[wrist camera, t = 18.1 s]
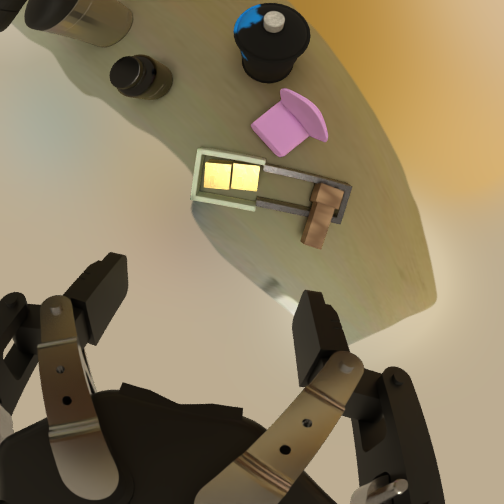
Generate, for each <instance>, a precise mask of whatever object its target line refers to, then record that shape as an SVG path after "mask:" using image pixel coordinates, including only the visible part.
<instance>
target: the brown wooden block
mask: <svg viewBox="0 0 504 504" xmlns="http://www.w3.org/2000/svg"><path fill="white" fill-rule="evenodd" d="M343 194H344V191H341V190H339V189H336V188H333V187H331V186H328V185H326V184H323V183H318V184H315V186H314V189H313V192H312V195H311V198H310V201H312V202H313V204H312V207H311V210H310V213H309V216H308V219H307V222H306V225H305V228H304V231H303V234H302V237H301V240H300V241H301V242H302V243H303V244H305V245H308V246H312V247H315V248H318V249H321V248H322V246H323V243H324V240H325V237H326V234H327V231H328V228H329V225H330V222H331V219H332V216H333V213H334V209H339V207H340V204H341V200H342V197H343Z"/></svg>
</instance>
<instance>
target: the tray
mask: <svg viewBox="0 0 504 504" xmlns="http://www.w3.org/2000/svg"><path fill="white" fill-rule="evenodd" d="M205 155H210V156H216V157H222V158H228V159H233V160H239V161H244V162H250V163H255V164H260V165H264V166H265V162H266V159H265V158H262V157H257V156H252V155H247V154H242V153H236V152H231V151H225V150H219V149H212V148H206V147H200V148H198V149H197V155H196V162H195V168H194V175H193V183H192V190H191V198H190V199H191V200H195V201H201V202H206V203H212V204H218V205H223V206H229V207H234V208H239V209H244V210H250V211H255V208H256V202H255V201H250V200H245V199H240V198H234V197H229V196H223V195H218V194H212V193H207V192H201V191H199V189H200V182H201V175H202V169H203V163H204V156H205Z"/></svg>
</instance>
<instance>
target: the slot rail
mask: <svg viewBox="0 0 504 504" xmlns="http://www.w3.org/2000/svg"><path fill="white" fill-rule="evenodd" d="M263 171H266V172H270V173H275V174H280V175H284V176H289V177H293V178H297V179H301V180H306V181H310V182H314V183H323V184H326V185H328V186H331V187H333V188H337V189H340V190H341V191H344V194H343V197H342V200H341V204H340V207H339V209H334V213H333V216H332V219H331V222H332V223H336V224H341V221H342V218H343V215H344V212H345V209H346V205H347V202H348V199H349V196H350V193H351V189H352V186H351V185H349V184H348V183H345V182H342V181H338V180H334V179H331V178H327V177H323V176H319V175H315V174H311V173H307V172H303V171H299V170H295V169H291V168H286V167H282V166H277V165H273V164H268V163H265V166H263ZM256 206H258V207H263V208H268V209H273V210H278V211H283V212H287V213H292V214H297V215H301V216H306V217H308V216H309V213H310V210H311V208H310V207H305V206H301V205H296V204H292V203H287V202H283V201H278V200H273V199H268V198H263V197H258V196H257V198H256Z"/></svg>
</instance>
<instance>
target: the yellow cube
mask: <svg viewBox="0 0 504 504" xmlns="http://www.w3.org/2000/svg"><path fill="white" fill-rule="evenodd" d="M233 162H234V161H225V160H214V159H210V160H208V161H207V162H206V164H205V177H204V187H206V188H217V189H227V190H229V188H230V186H231V181H232V172H233Z"/></svg>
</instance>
